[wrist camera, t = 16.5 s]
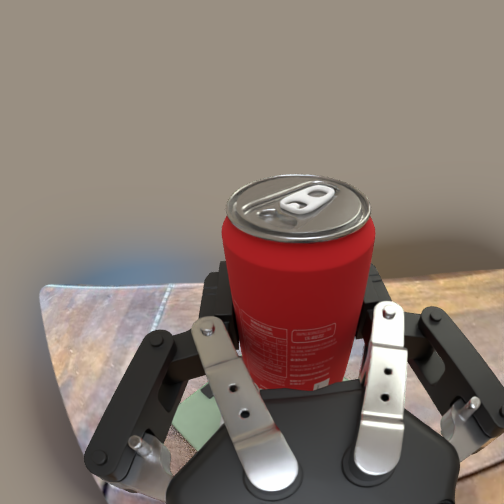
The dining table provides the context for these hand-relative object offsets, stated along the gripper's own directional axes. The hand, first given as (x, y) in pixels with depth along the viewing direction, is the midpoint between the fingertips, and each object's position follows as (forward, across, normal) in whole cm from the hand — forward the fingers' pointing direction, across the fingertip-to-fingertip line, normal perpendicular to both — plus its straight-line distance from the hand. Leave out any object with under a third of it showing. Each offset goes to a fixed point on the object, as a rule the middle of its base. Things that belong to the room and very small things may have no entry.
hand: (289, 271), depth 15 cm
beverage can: (-3, 0, +7) cm, 8 cm away
